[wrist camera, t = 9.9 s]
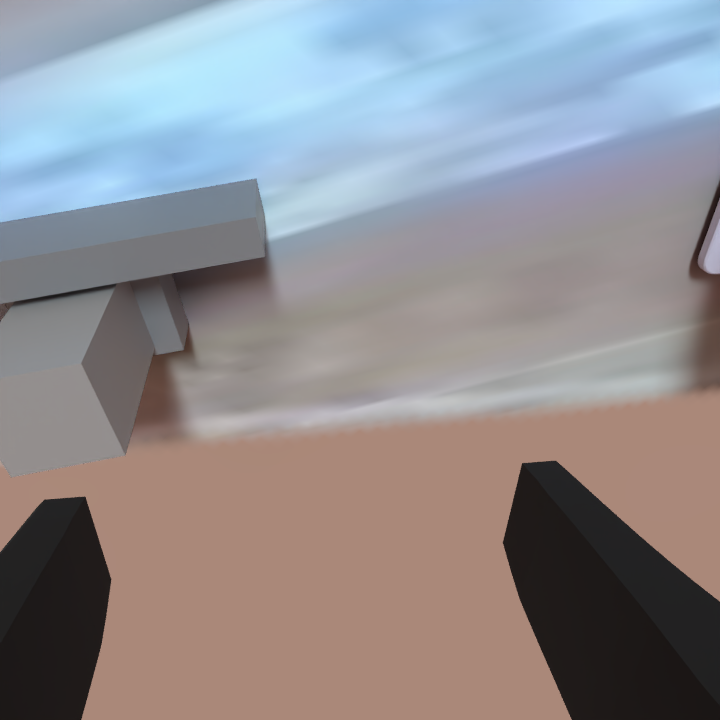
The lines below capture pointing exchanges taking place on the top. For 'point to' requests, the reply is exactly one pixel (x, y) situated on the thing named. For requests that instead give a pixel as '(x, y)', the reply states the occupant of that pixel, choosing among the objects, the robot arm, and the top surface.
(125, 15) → the top surface
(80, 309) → the pusher
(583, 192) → the top surface
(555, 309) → the top surface
